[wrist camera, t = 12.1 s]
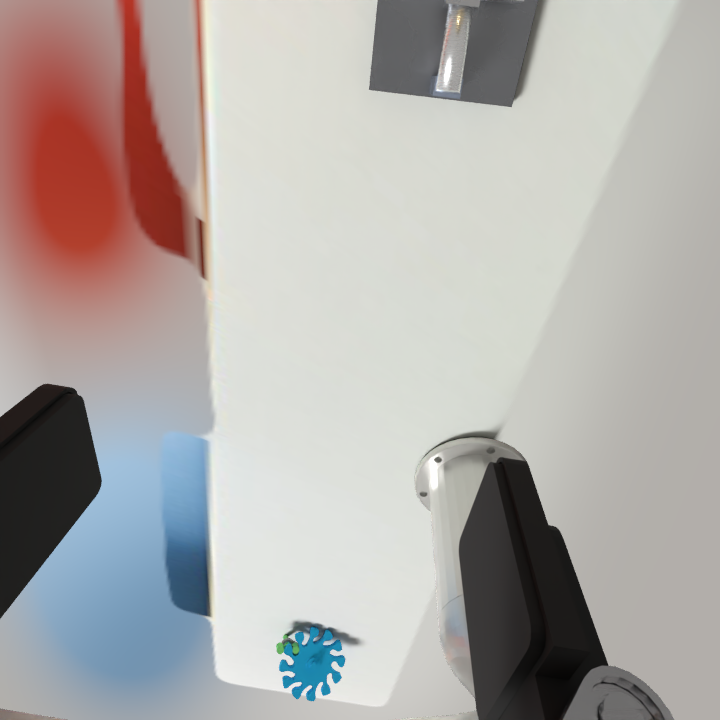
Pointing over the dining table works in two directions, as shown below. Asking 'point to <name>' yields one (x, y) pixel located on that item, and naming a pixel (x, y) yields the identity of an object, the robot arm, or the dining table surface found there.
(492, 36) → the coupling stand
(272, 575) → the dining table surface
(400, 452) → the dining table surface
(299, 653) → the gear
